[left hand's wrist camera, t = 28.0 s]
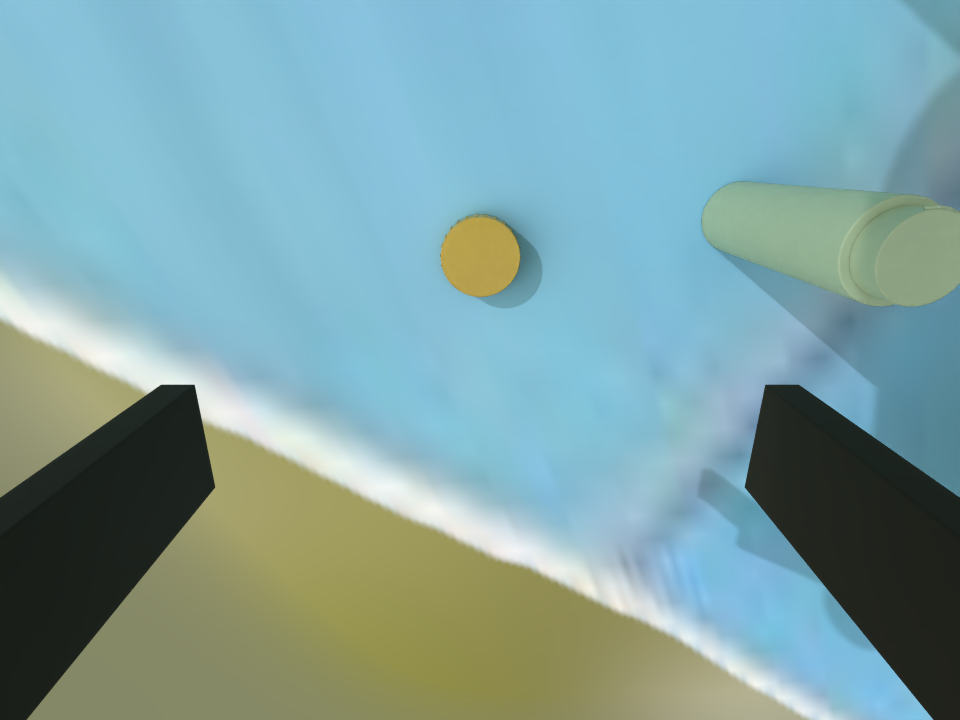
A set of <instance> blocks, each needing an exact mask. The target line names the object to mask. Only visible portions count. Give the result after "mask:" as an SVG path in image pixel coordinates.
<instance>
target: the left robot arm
mask: <svg viewBox="0 0 960 720" xmlns="http://www.w3.org/2000/svg"><path fill="white" fill-rule="evenodd" d="M214 488H215V484H214V479H213V474H212V469H211V464H210V459H209V454H208V449H207V444H206V439H205V434H204V429H203V424H202V419H201V414H200V409H199V404H198V399H197V394H196V389H195V385H160V386H159V387H157V388H156V389H155V390H153V391H152V392H150V393H149V394H147V395H146V396H145V397H143V398H142V399H140V400H139V401H137V402H136V403H135V404H133V405H132V406H130V407H129V408H127V409H126V410H125V411H123V412H122V413H120V414H119V415H117V416H116V417H115V418H113V419H112V420H110V421H109V422H108V423H106V424H105V425H103V426H102V427H100V428H99V429H98V430H96V431H95V432H93V433H92V434H90V435H89V436H88V437H86V438H85V439H83V440H82V441H80V442H79V443H78V444H76V445H75V446H73V447H72V448H70V449H69V450H68V451H66V452H65V453H63V454H62V455H61V456H59V457H58V458H56V459H55V460H53V461H52V462H51V463H49V464H48V465H46V466H45V467H43V468H42V469H41V470H39V471H38V472H36V473H35V474H33V475H32V476H31V477H29V478H28V479H26V480H25V481H23V482H22V483H21V484H19V485H18V486H16V487H15V488H13V489H12V490H11V491H9V492H8V493H6V494H5V495H4V496H2V497H1V498H0V720H27V718H28V717H29V716H30V715H31V714H32V712H33V711H34V710H35V709H36V707H37V706H38V705H39V704H40V702H41V701H42V700H43V699H44V698H45V696H46V695H47V694H48V693H49V691H50V690H51V689H52V688H53V686H54V685H55V684H56V683H57V682H58V680H59V679H60V678H61V677H62V675H63V674H64V673H65V672H66V670H67V669H68V668H69V667H70V666H71V664H72V663H73V662H74V661H75V659H76V658H77V657H78V656H79V654H80V653H81V652H82V651H83V649H84V648H85V647H86V646H87V645H88V643H89V642H90V641H91V640H92V638H93V637H94V636H95V635H96V633H97V632H98V631H99V630H100V629H101V627H102V626H103V625H104V624H105V622H106V621H107V620H108V619H109V618H110V616H111V615H112V614H113V613H114V611H115V610H116V609H117V608H118V606H119V605H120V604H121V603H122V601H123V600H124V599H125V598H126V596H127V595H128V594H129V593H130V592H131V590H132V589H133V588H134V587H135V585H136V584H137V583H138V582H139V581H140V579H141V578H142V577H143V576H144V574H145V573H146V572H147V571H148V569H149V568H150V567H151V566H152V565H153V563H154V562H155V561H156V560H157V558H158V557H159V556H160V555H161V553H162V552H163V551H164V550H165V548H166V547H167V546H168V545H169V544H170V542H171V541H172V540H173V539H174V537H175V536H176V535H177V534H178V533H179V531H180V530H181V529H182V528H183V526H184V525H185V524H186V523H187V521H188V520H189V519H190V518H191V517H192V515H193V514H194V513H195V512H196V510H197V509H198V508H199V507H200V505H201V504H202V503H203V502H204V500H205V499H206V498H207V497H208V495H209V494H210V493H211V492H212V491H213V489H214ZM745 488H746V489H747V491H748V492H749V493H750V494H751V496H752V497H753V498H754V499H755V500H756V502H757V503H758V504H759V505H760V507H761V508H762V509H763V510H764V512H765V513H766V514H767V515H768V517H769V518H770V519H771V520H772V521H773V523H774V524H775V525H776V526H777V528H778V529H779V530H780V531H781V533H782V534H783V535H784V536H785V537H786V539H787V540H788V541H789V542H790V544H791V545H792V546H793V547H794V549H795V550H796V551H797V552H798V553H799V555H800V556H801V557H802V558H803V560H804V561H805V562H806V563H807V565H808V566H809V567H810V568H811V569H812V571H813V572H814V573H815V574H816V576H817V577H818V578H819V579H820V581H821V582H822V583H823V584H824V585H825V587H826V588H827V589H828V590H829V592H830V593H831V594H832V595H833V597H834V598H835V599H836V600H837V601H838V603H839V604H840V605H841V606H842V608H843V609H844V610H845V611H846V613H847V614H848V615H849V616H850V618H851V619H852V620H853V621H854V622H855V624H856V625H857V626H858V627H859V629H860V630H861V631H862V632H863V634H864V635H865V636H866V637H867V638H868V640H869V641H870V642H871V643H872V645H873V646H874V647H875V648H876V650H877V651H878V652H879V653H880V654H881V656H882V657H883V658H884V659H885V661H886V662H887V663H888V664H889V666H890V667H891V668H892V669H893V670H894V672H895V673H896V674H897V675H898V677H899V678H900V679H901V680H902V682H903V683H904V684H905V685H906V686H907V688H908V689H909V690H910V691H911V693H912V694H913V695H914V696H915V698H916V699H917V700H918V701H919V702H920V704H921V705H922V706H923V707H924V709H925V710H926V711H927V712H928V714H929V715H930V716H931V717H932V719H933V720H960V497H958V496H957V495H955V494H954V493H952V492H951V491H949V490H948V489H947V488H945V487H944V486H942V485H941V484H939V483H938V482H937V481H935V480H934V479H932V478H931V477H929V476H928V475H927V474H925V473H924V472H922V471H921V470H919V469H918V468H917V467H915V466H914V465H912V464H911V463H909V462H908V461H907V460H905V459H904V458H902V457H901V456H900V455H898V454H897V453H895V452H894V451H892V450H891V449H890V448H888V447H887V446H885V445H884V444H882V443H881V442H880V441H878V440H877V439H875V438H874V437H872V436H871V435H870V434H868V433H867V432H865V431H864V430H862V429H861V428H860V427H858V426H857V425H855V424H854V423H852V422H851V421H850V420H848V419H847V418H845V417H844V416H843V415H841V414H840V413H838V412H837V411H835V410H834V409H833V408H831V407H830V406H828V405H827V404H825V403H824V402H823V401H821V400H820V399H818V398H817V397H815V396H814V395H813V394H811V393H810V392H808V391H807V390H805V389H804V388H803V387H801V386H800V385H765V389H764V394H763V399H762V404H761V409H760V414H759V419H758V424H757V429H756V434H755V439H754V444H753V449H752V454H751V459H750V464H749V469H748V474H747V479H746V484H745Z"/></svg>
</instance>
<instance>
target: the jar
mask: <svg viewBox="0 0 960 720" xmlns="http://www.w3.org/2000/svg"><path fill="white" fill-rule="evenodd" d="M702 230H703V233H704V236H705V238H706V239H707V241H708V242H709V243H710V244H711V245H712V246H713V247H714V248H716V249H718V250H721V251H723V252H726V253H729V254H731V255H734V256H737V257H739V258H742V259H745V260H747V261H750V262H753V263H755V264H758V265H761V266H763V267H766V268H769V269H772V270H774V271H777V272H780V273H782V274H785V275H788V276H790V277H793V278H796V279H798V280H801V281H804V282H807V283H809V284H812V285H815V286H817V287H820V288H823V289H825V290H828V291H831V292H833V293H836V294H839V295H842V296H844V297H847V298H850V299H852V300H855V301H858V302H860V303H863V304H866V305H870V306H889V305H894V304H897V305H901V306H908V307H913V306H921V305H925V304H929V303H932V302H934V301H937V300H939V299H941V298H942V297H944V296H945V295H947V294H948V293H950V292H951V291H952V290H953V289H954V288H956V287H957V286H958V285H959V283H960V212H959V211H957V210H955V209H953V208H952V207H947V206H942V205H939V204H937V203H936V202H934V201H933V200H931V199H929V198H927V197H923V196H919V195H911V194H898V193H885V192H872V191H859V190H846V189H833V188H820V187H807V186H794V185H782V184H769V183H756V182H734V183H731V184H728V185H726V186H724V187H722V188H721V189H719V190H718V191H717V192H716V193H715V194H714V195H713V196H712V197H711V198H710V199H709V201H708V202H707V204H706V206H705V209H704V211H703V215H702Z"/></svg>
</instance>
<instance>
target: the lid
mask: <svg viewBox="0 0 960 720" xmlns="http://www.w3.org/2000/svg"><path fill="white" fill-rule="evenodd" d="M441 247H442V250H441V255H440V257H441V264H442V265H441V266H442V268H443V271H444V273H445V276H446V277H447V279H448V280H449V282H450V283H451V284H452V285H453V286H454V287H455V288H456V289H458V290H459V291H461V292H463V293H465V294H467V295H471V296H476V297H485V296H490V295H494V294H496V293H498V292H500V291H502V290H503V289H505V288H506V287H507V286H508V285H509V284H510V283H511V282H512V281H513V279H514V277H515V276H516V274H517V271H518V268H519V264H520V258H521V256H520V250H519V249H520V246H519V244H518V243H517V238H516V235H515V236H514V234H513V232H512V229H511V228H509V227H508V226H507V225H506V224H505V222H504V221H503V222H502V221H500V220H499V219H497V218H496V217H495V216H494V217H492V216H488V215H487V214H485V215H477V214H476V215H473V216H469V217H468V216H466V218H464V219H462V220H460V221H459V220H458V222H457V223H456V224H455V225H454V226H453V227H451V228H450V231H449V233H448V234H446V235H445V241H444V243H443V244H442V246H441Z"/></svg>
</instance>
